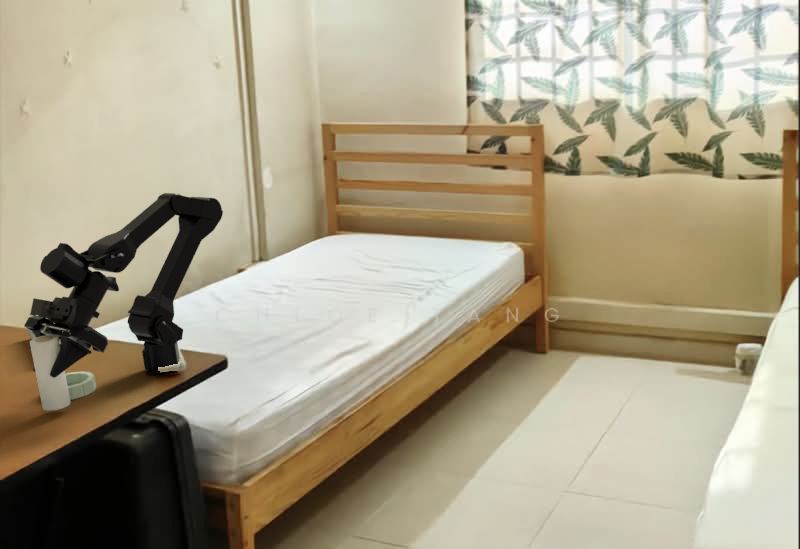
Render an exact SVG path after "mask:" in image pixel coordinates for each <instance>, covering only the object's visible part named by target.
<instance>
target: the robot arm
mask: <svg viewBox="0 0 800 549" xmlns="http://www.w3.org/2000/svg"><path fill="white" fill-rule="evenodd" d="M223 214H224V211H223V209H222V205H221V203H220V201H219V200H218V199H216V198H214V197H203V196H202V197H201V196H191V197H189V196H187V195H186V196H184V195H181V194H180V193H173V192H172V193H170V192H163V193H161V194H160V195H159V196H158V197H157V199H156V200H155V201H153V203H151V204H150V205H149V206H148V207H147V208H145V209H144V210H143V211H141V213H139V215H137V216H136V217H135V218H133V219H132V220H131V221H130V222H128V224H126V225H125V226H124V227H122V228H121V229H119V231H116V232H114V233H111V234H108V235H105V236H103V237H101V238H100V239H98V240H96V241H95V242H92V244H91V245H89V246H88V249H86V250H85V251H81V252H80V253H79V252H77V251H76V250H75V249H74V248H73V247H72V246H71V245H70V244H68V243H66V242H64V243H62V242H60V243H59V244H58V246H57V247H56V248H54V249H52V250H51V251H49V252H48V254H47V255H45V256H44V257H43V258H42V260H41V262H40V266H39V268H40V272H41V273H42V274H43V275H44V276H46V277H48V278H49V279H51V280H52V281H54V282H55V283H57V284H58V285H60V286H61V287H63V288H65V289H71V288H72V289H71V292H70V293H69V295H68V297H67V296H62V297H57V296H55V297H54V298H53V299H52V301H51V300H45V299H39V298H33V299H32V304H31V309H30V314H29V317H27V320H26V322H25V323H24V325H23V327H24V328H26V329H27V330H28V329H29V330H31V331H32V332H33V334H34V335H35V336H36V338H37V337H40V336H45V335H57V336H58V338H59V341H60V343H59V344H60V351H59V354H58V356H57V358H56V360H55V363H54V365H53V367H52V370H51V372H50V376H52V377H54V378H55V377H57V376H58V375H59V374H61V373H62V372H63V371H65V372H66V370H67V369H69V367H71V366H72V365H74V364H76V363H77V362H79V361H80V360H81V359H83V358H84V357H86V356H87V355H91V354H92V353H93V352H92V351H91V350H90V349H91V347H92V350H93V351H94V352H98V353H102V354H103V353H105V351H106V349H107V347H108V345H109V343H108V341H109V340H108V337H107V336H106V335H104V334H102V333H101V332H100V331H97V330H96V329H95V328H94V327H91V326H90V323H91V322H92V320H93V318H94V319H98V318H99V316H100V312H98V308H99V307H100V305H101V303H102V302H103V299H104V297H105V296H106V294H107V292H108V291H112V292H119V290H120V288H119V284H118V283H117V278H116V277H114V276H106V275H105V274H103V273H102V272H106V273H113V274H114V273H115V274H118V273H122V272H123V271H124V270H125V269H127V267H129V265H130V264H131V262H132V261H133V260H134V259H135V257H136V254H137V250H138V249H139V248H140V246H142V244H145V242H146V241H147V240H148V239H150V238H151V237H152V236H153V235H154V234H155V233H156V232H158V231H159V230H161V228H162V227H164V226H165V224H167V223H168V222H169V221H170V220H172V218H174V217H175V216H178V233H177V235H176V238H175V239H174V242H173V244H172V246H171V248H170V249H169V252H168V254H167V256H166V257H165V258H166V259H165V260H164V263H163V265H162V267H161V269H160V271H159V273H158V276H157V278H156V280H155V282H154V284H153V286H152V287H151V290H150V291H149V292H148V293H147V294H146V295H145V296H144V295H140V294H137V295H136V296H135V298H134V301H133V304H132V306H131V308H130V309H129V310H128V311H127V313H128V314H129V315H128V318H127V324H128V327H129V330H130V332H131V333H132V334H134V336H135V338H136V339H137V341H139V342H143V349H142V351H141V353H142V360H143V365H144V367H143V368H144V369H145V375H149V376H150V375H158V374H161V373H160V371H158V367H165V366H169V365H173V364H178V362H179V359H181V358H180V352H179V346H178V345H179V344H178V342H180V341H182V340H183V334H184V329H183V328H182V327H180V326H179V325H178V324H177V323H175V322H173V320H174V318H175V306H174V300H175V298H176V296H177V293H178V291H179V290H180V287H181V285H182V283H183V281H184V279H185V277H186V275H187V273H188V270H189V268H190V265H191V264H192V262H193V259H194V257H195V255H196V253H197V251H198V249H199V247H200V244H201V242H202V241H203V240H204V239H205V238H206V237H208V236H209V235H210V234H211V233H212V232H213V231H215V229H216V227H217V226H218V224H219V223H220V222H221V219H222V218H223ZM89 268H92V269H93V271H92V270H90V269H89ZM101 271H102V272H101ZM32 370H33V372H34V373H35V374H36V372H35V367H34V366H33V367H32Z"/></svg>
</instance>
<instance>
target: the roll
mask: <svg viewBox="0 0 800 549" xmlns="http://www.w3.org/2000/svg"><path fill="white" fill-rule="evenodd" d="M59 342H60V340H59V338H58V336H57V335H45V336H40V337H37V338H34V339H32V338H31V340H29V345H30V352H31V355H32V361H33V367H35V372H36V373H35V372H34V373H35V375H36V381H37V385H38V392H39V395H40V397H39V398H40V401H41V407H42V409H43V410H44V411H47V412H48V411H57V410H62V409H64V408H66V407H69V406H70V405H71V400H70V397H69V391H68V386H67V381H66V375H65V374H66V370H65V371H63V372H62V373H61V374H59V375H58V376H57V377H55V378H54V377H52V376H50V372H51V370H52V367H53V365H54V363H55V360H56V358H57V356H58V354H59V351H60V344H61V343H60V344H59Z"/></svg>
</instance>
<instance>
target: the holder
mask: <svg viewBox="0 0 800 549" xmlns="http://www.w3.org/2000/svg"><path fill="white" fill-rule="evenodd" d="M65 375H66V381H67V386H68V391H69V397H70V401H71V400H75V399H79V398H82V397H85V396H88V395H90V394H91V393H94V392H95V390H96V389H97V383H96V378H95V375H94V374H93V373H92V372H91V371H72V372H67V373H65Z"/></svg>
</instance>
